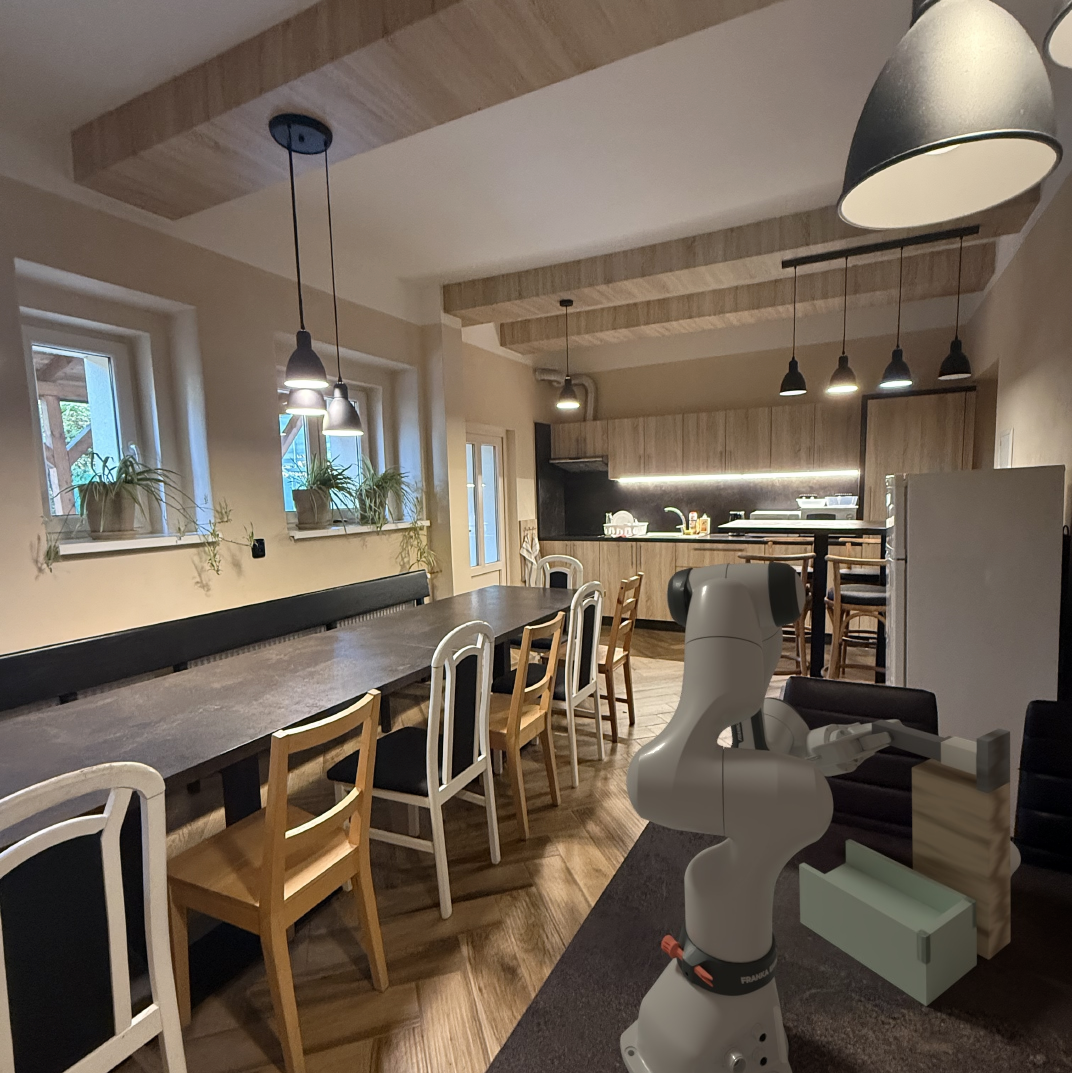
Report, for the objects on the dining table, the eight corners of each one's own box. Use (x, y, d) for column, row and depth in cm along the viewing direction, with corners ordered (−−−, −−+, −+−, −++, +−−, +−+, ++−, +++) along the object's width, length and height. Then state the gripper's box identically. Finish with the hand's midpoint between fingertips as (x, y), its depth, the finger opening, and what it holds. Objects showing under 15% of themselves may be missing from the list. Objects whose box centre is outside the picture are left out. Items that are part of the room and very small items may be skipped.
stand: (988, 959, 91) (987, 741, 89) (913, 917, 100) (911, 720, 99) (1010, 941, 94) (1010, 731, 92) (935, 902, 104) (934, 711, 102)
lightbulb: (1028, 910, 101) (1028, 847, 100) (988, 906, 102) (987, 844, 102) (1008, 887, 107) (1008, 827, 106) (969, 884, 108) (969, 825, 108)
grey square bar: (976, 774, 92) (976, 752, 92) (869, 740, 106) (869, 721, 106) (990, 767, 94) (990, 745, 94) (883, 734, 109) (883, 715, 108)
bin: (926, 1006, 83) (925, 937, 83) (800, 922, 100) (799, 864, 100) (976, 964, 90) (976, 900, 89) (850, 892, 107) (849, 838, 107)
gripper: (792, 744, 111) (852, 727, 100) (858, 722, 121) (919, 704, 110) (807, 779, 109) (871, 766, 98) (873, 753, 119) (938, 738, 108)
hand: (897, 733), depth 104 cm, fingers closed on grey square bar, 3 cm apart
